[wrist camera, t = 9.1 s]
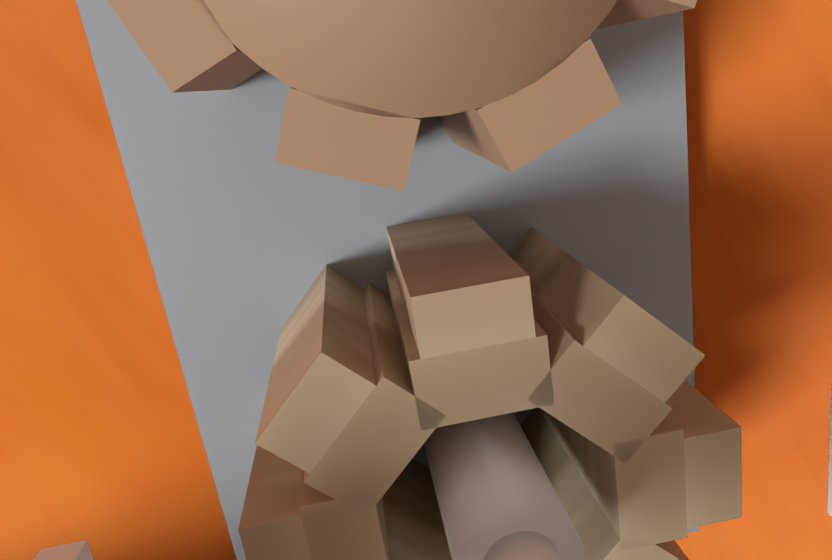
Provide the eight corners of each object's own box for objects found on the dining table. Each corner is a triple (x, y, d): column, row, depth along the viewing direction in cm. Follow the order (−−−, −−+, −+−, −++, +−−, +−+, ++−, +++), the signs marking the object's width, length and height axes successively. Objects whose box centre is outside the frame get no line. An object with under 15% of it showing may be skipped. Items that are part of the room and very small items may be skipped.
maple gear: (313, 569, 17) (303, 762, 12) (235, 253, 14) (184, 339, 9) (630, 503, 17) (742, 662, 13) (610, 187, 15) (739, 236, 10)
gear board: (260, 591, 18) (190, 1063, 9) (18, -276, 12) (-788, -1190, 3) (677, 503, 19) (970, 863, 10) (641, -353, 13) (1273, -1259, 4)
